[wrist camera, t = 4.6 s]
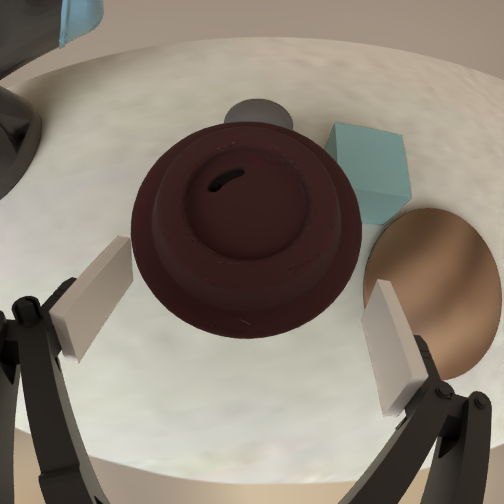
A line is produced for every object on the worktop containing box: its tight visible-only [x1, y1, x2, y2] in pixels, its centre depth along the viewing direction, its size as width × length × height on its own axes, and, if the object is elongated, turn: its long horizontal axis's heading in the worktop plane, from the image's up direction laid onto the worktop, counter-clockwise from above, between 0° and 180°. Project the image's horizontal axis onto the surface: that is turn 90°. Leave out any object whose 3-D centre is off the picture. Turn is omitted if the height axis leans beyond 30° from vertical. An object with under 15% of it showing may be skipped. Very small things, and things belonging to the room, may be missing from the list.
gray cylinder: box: [224, 99, 293, 130], centre depth 25 cm, size 5×5×7 cm
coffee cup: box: [131, 121, 362, 339], centre depth 19 cm, size 10×10×15 cm
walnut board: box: [363, 208, 502, 380], centre depth 25 cm, size 16×16×1 cm
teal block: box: [324, 122, 412, 225], centre depth 26 cm, size 6×6×6 cm
